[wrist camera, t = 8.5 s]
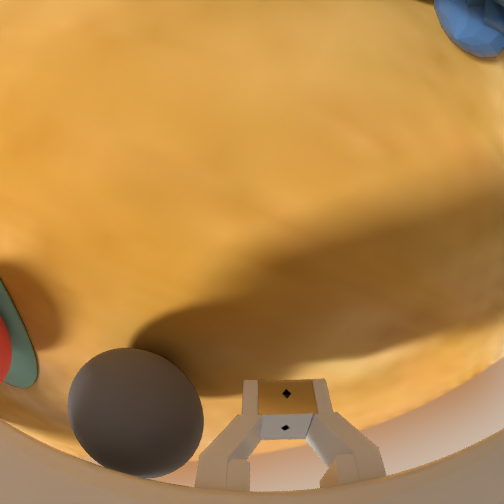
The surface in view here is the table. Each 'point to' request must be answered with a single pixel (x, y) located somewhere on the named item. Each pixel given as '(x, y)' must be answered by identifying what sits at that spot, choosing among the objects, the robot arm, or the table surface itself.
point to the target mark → (17, 345)
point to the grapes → (473, 25)
